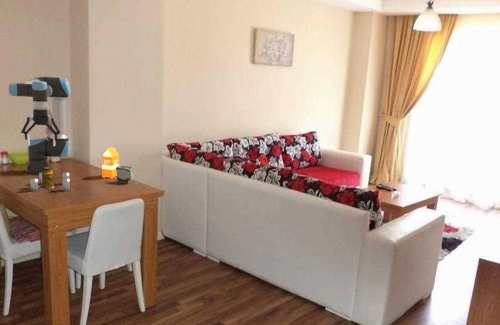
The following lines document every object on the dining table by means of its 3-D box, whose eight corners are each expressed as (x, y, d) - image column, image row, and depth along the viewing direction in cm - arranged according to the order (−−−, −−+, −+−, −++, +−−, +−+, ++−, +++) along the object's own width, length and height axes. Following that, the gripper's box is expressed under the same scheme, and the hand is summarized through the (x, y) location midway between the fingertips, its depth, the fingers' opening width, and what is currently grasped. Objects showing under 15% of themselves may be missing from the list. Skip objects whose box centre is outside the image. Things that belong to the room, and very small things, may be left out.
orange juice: (102, 177, 288) (101, 148, 285) (109, 174, 297) (109, 146, 293) (112, 178, 287) (112, 149, 283) (119, 175, 295) (119, 147, 292)
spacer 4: (62, 189, 252) (62, 178, 251) (70, 189, 254) (69, 178, 252) (61, 191, 249) (61, 179, 247) (69, 191, 250) (69, 179, 249)
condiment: (55, 188, 255) (54, 168, 252) (39, 189, 250) (38, 169, 248) (52, 185, 261) (52, 166, 258) (37, 186, 256) (37, 166, 254)
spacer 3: (63, 183, 267) (62, 172, 266) (69, 183, 268) (69, 172, 267) (62, 184, 263) (61, 173, 262) (69, 184, 264) (68, 173, 263)
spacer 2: (40, 183, 263) (39, 172, 262) (47, 183, 264) (47, 172, 263) (39, 184, 260) (38, 173, 258) (46, 184, 261) (45, 173, 259)
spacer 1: (31, 189, 248) (30, 178, 246) (38, 189, 249) (38, 178, 248) (29, 191, 244) (29, 179, 243) (37, 191, 245) (37, 179, 244)
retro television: (136, 182, 280) (136, 167, 278) (130, 184, 274) (130, 169, 272) (121, 179, 285) (121, 165, 283) (115, 181, 279) (115, 166, 277)
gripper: (14, 108, 235) (16, 146, 239) (63, 110, 243) (64, 146, 247) (17, 107, 242) (18, 144, 246) (64, 109, 250) (65, 144, 254)
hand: (41, 145), depth 247 cm, fingers open, 13 cm apart
